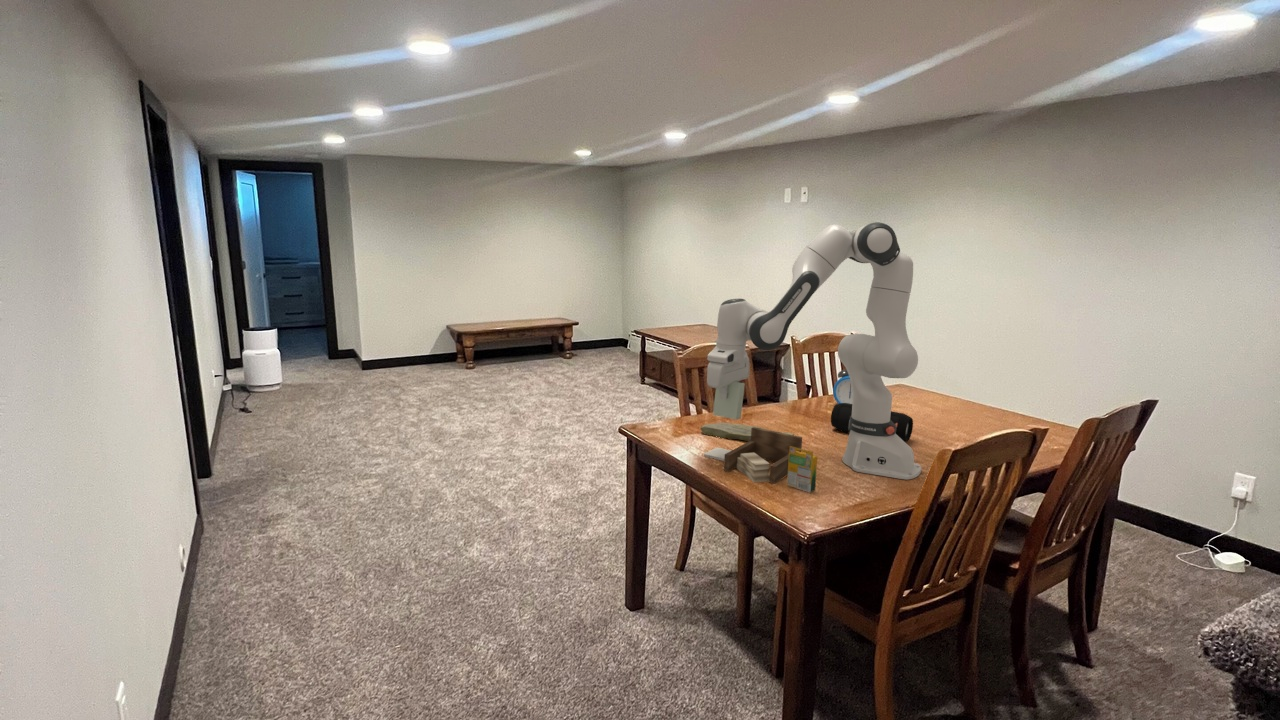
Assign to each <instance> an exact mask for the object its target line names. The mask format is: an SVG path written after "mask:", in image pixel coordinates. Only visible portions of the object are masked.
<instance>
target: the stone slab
mask: <svg viewBox="0 0 1280 720" xmlns="http://www.w3.org/2000/svg"><path fill="white" fill-rule="evenodd" d="M753 427H756V428H761V429H764V428H762V427H760V426H755V425H746V424H743V423H742V424H741V423H731V422H730V423H729V422H717V423H706V424H704V425H702V426H700V430H701V432H702V433H703V435H706V434H707V435H706V436H711V435H713V437H715V436H717V437H720V438H719V439H722V438H729V440H731V439H732V440H735V439H736V440H741V441H746V442H749V441H751V428H753ZM765 429H766V430H768V429H767V428H765ZM774 431H775V430H774ZM775 432H777V431H775ZM779 432H780V433H785V434H789V435H794V436H795V434H794V433H793V432H787V431H786V432H785V431H784V432H781V431H779ZM717 437H716V438H717Z"/></svg>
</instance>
